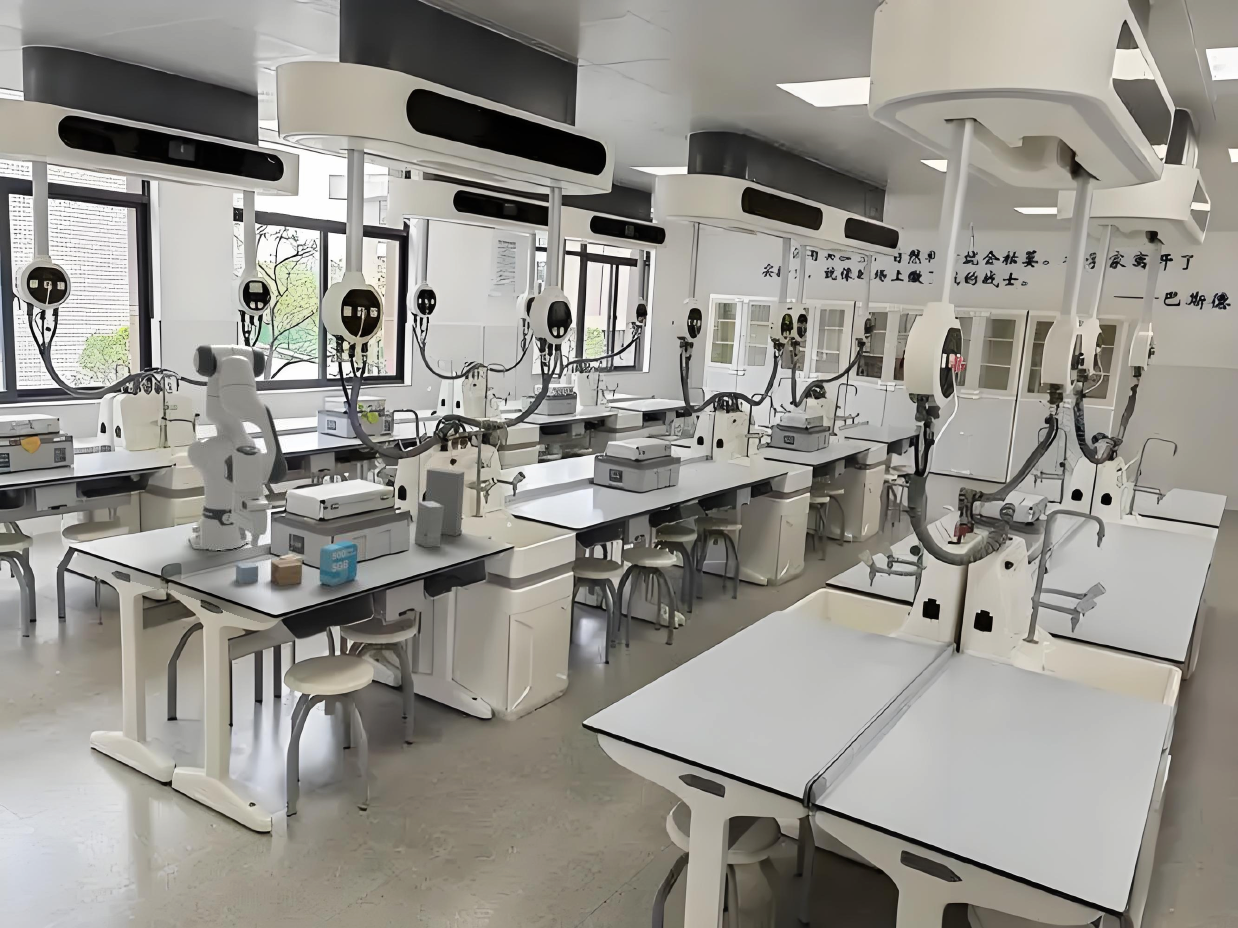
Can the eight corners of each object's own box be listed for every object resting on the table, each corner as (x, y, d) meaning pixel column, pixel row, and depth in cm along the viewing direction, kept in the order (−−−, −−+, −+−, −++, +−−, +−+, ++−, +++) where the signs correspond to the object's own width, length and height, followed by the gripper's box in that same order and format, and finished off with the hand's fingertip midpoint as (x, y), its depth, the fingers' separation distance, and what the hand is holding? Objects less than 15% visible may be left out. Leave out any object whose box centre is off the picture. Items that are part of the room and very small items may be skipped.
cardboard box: (270, 579, 288) (271, 561, 287) (292, 576, 293) (293, 558, 292) (279, 585, 283) (279, 567, 282) (301, 582, 288) (302, 564, 287)
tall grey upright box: (462, 533, 364) (465, 471, 360) (456, 536, 358) (459, 473, 354) (429, 528, 367) (433, 467, 363) (423, 531, 361) (426, 469, 357)
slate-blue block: (235, 579, 286) (236, 564, 285) (252, 577, 290) (252, 562, 289) (241, 583, 283) (241, 568, 282) (258, 581, 286) (258, 566, 285)
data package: (329, 587, 286) (330, 550, 284) (318, 584, 288) (319, 547, 286) (356, 578, 297) (358, 542, 295) (346, 575, 299) (347, 540, 297)
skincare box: (414, 542, 345) (416, 501, 342) (430, 540, 349) (432, 500, 347) (425, 548, 339) (427, 506, 336) (442, 546, 343) (444, 504, 341)
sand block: (278, 571, 297) (279, 556, 296) (291, 568, 301) (291, 554, 301) (289, 575, 295) (290, 560, 294) (301, 571, 299) (302, 557, 298)
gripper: (225, 494, 287) (226, 536, 289) (250, 506, 272) (250, 551, 274) (246, 492, 291) (246, 534, 293) (271, 504, 276) (271, 549, 278)
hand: (248, 543), depth 284 cm, fingers open, 8 cm apart
